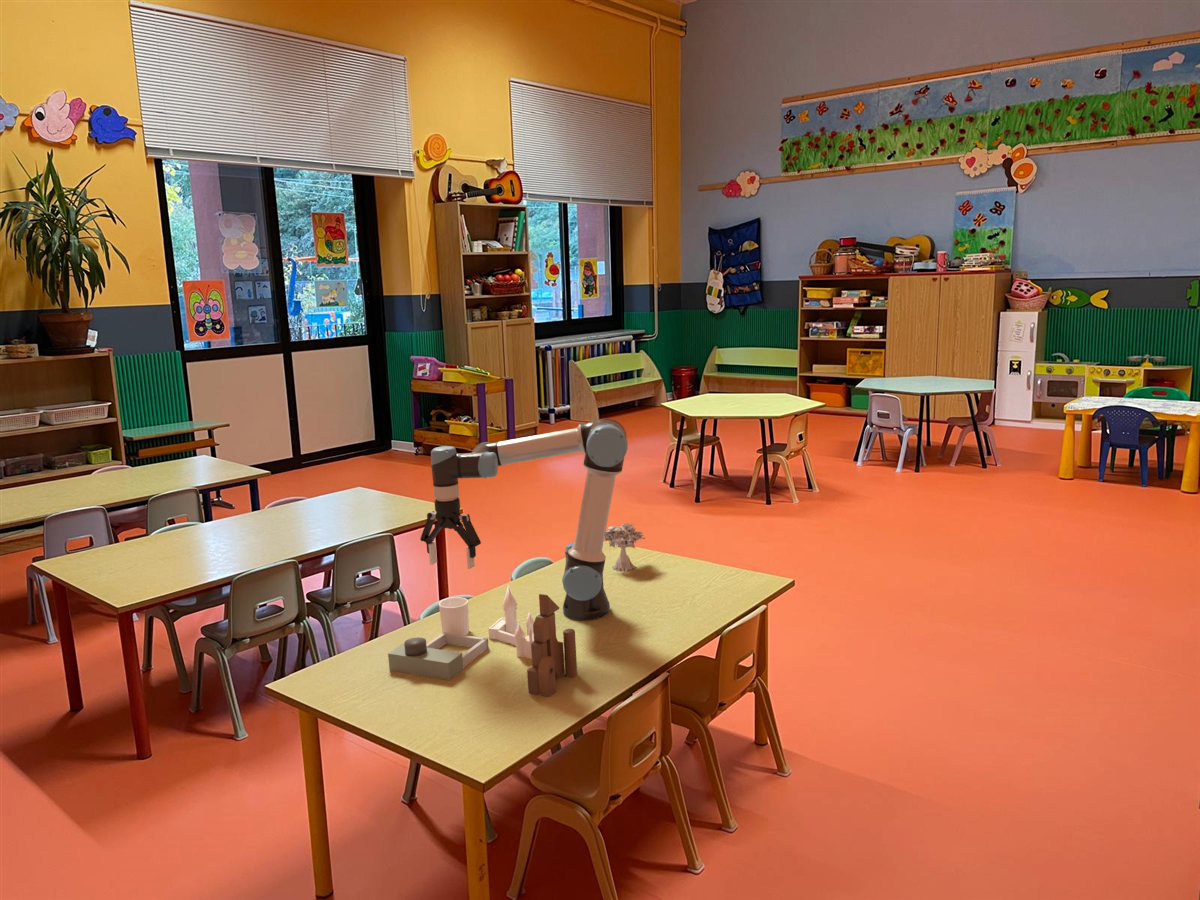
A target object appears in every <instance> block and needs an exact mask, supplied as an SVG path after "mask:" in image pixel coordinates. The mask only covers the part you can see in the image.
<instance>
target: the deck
mask: <svg viewBox="0 0 1200 900" xmlns="http://www.w3.org/2000/svg"><path fill="white" fill-rule="evenodd" d="M446 644H447V645H452V646H453V645H454V646H461V647H466V648H469V649H467V650H466V651H464V652H459V651H458V652H457V651H452V650H444V649H440V648H441V647H443V646H445V645H446ZM488 649H489V637H488V638H487V637H479V636H473V635H460V634H453V633H446V632H442V633H440V634H438V636H436V637H435V638H433V639H431V640H430V641H429V642H428V643H427V640H426V638H424V637H420V636H419V637H411V638H409V639H407V640H405V641H404V642H403V643H402V644H400V645H399V646H397V647H396V648H394V649H393V650H391V651H389V652H388V653H387V657H388V669H389V671H393V672H400V673H404V674H411V675H417V676H422V677H428V678H433V679H440V680H446V681H450V680H452V679H453V678H454V677H455V676H457V675H459V674H460V673H461V672H462V671H464V668H465V667H466V666H467V665H468V664H470V663H472V662H473V660H475V659H476V658H478V657H479V656H480V655H481V654H483V653H484V652H485V651H487V650H488Z"/></svg>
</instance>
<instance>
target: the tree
mask: <svg viewBox="0 0 1200 900" xmlns="http://www.w3.org/2000/svg"><path fill="white" fill-rule="evenodd" d="M634 524H635V523H629V522H628V523H623V524H621V525H620V526H618V525H613V526H608V528H607V529H606V532H605V537H604V542H608V543H609V547H610V548H611V547H613V549H615V548H620V553H619V557H618V558H617V559H616V561H615V562H614V565H612V566H611V568H612V570H614V571H615V570H616V572H619V571H622V572H624V571H625V572H627V571H631V570H633V569H637V568H638V567H637V566H636V565H634V564H633V562H632V561H631V559H630V557H629V555H628V554H627V550H626V548H632V549H636V546H635V543H637V541H639V540H642V539H643V540H645V539H646V538H645V537H644V533H643V532H642V531H637V530H636V528H635V527H634Z"/></svg>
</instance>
